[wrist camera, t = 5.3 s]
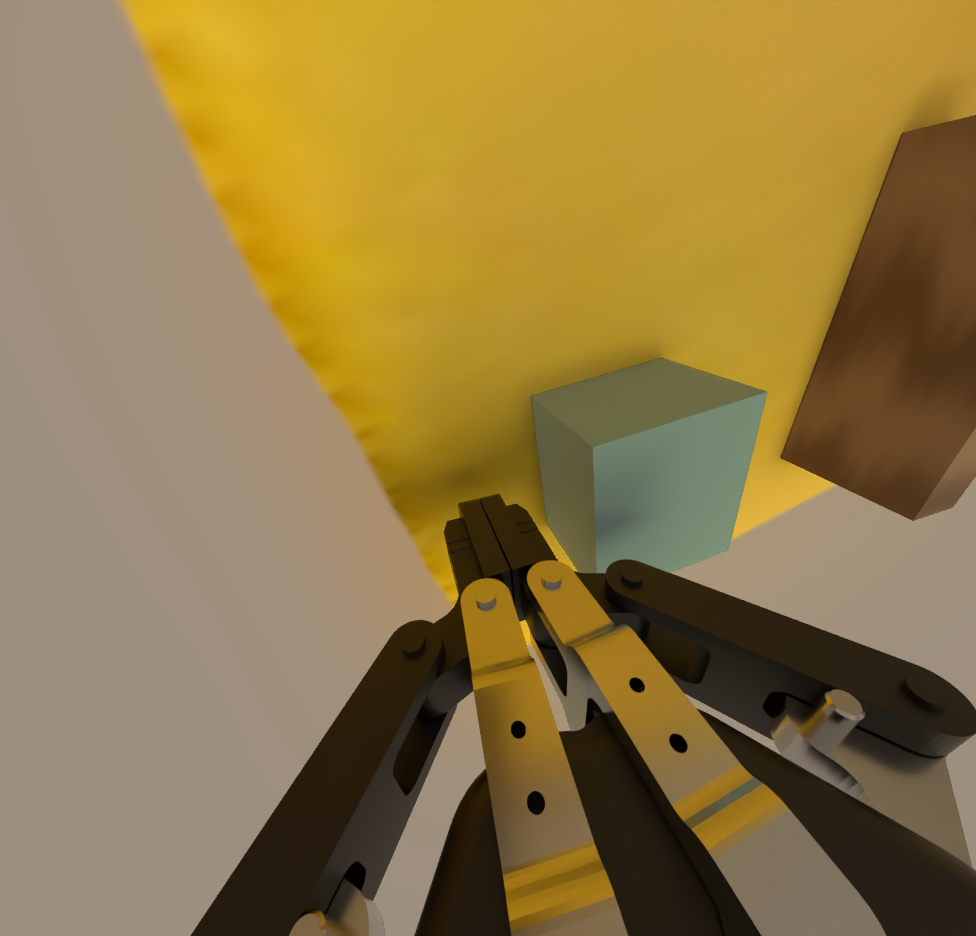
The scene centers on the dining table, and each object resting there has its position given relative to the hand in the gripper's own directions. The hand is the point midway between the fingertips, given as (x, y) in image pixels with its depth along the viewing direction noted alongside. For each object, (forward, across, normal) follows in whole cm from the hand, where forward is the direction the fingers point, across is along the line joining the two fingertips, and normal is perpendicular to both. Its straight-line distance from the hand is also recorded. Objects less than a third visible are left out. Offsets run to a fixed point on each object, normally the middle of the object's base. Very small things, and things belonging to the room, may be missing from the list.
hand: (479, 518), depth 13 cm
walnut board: (+3, -20, -3) cm, 20 cm away
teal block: (+3, -6, 0) cm, 7 cm away
